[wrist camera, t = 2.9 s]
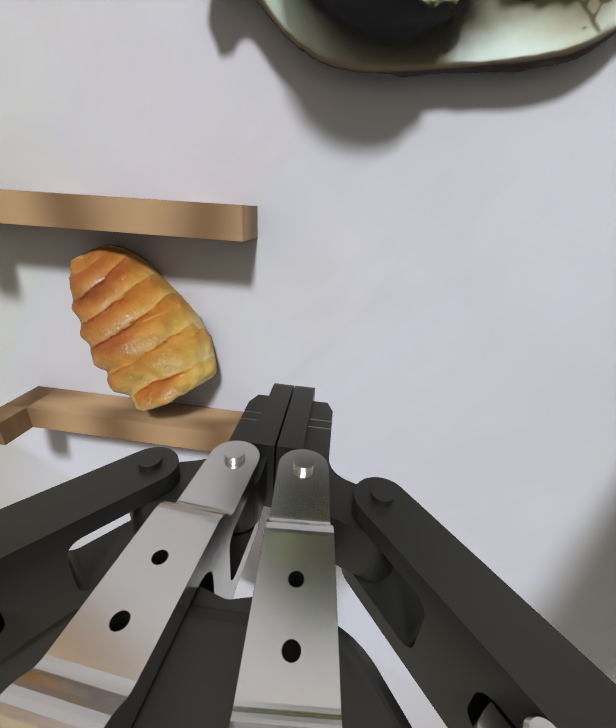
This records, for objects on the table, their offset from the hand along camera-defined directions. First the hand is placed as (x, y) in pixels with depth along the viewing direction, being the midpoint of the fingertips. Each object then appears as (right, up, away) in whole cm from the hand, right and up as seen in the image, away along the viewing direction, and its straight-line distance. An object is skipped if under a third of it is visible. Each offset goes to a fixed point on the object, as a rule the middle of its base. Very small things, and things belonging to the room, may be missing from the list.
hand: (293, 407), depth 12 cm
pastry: (-9, +4, +9) cm, 13 cm away
